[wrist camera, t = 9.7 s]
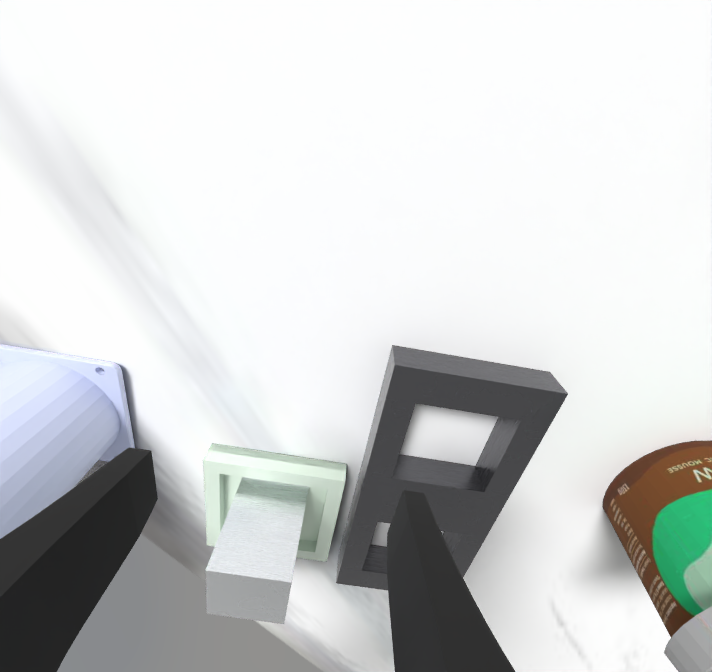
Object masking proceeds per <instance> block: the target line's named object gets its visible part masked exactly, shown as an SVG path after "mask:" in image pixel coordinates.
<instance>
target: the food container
mask: <svg viewBox="0 0 712 672" xmlns="http://www.w3.org/2000/svg"><path fill="white" fill-rule="evenodd" d="M603 509H604V510H605V512H606V514H607V516H608V518H609V520H610V522H611V524H612V526H613V528H614V530H615V531H616V533H617V535H618V537H619V539H620V541H621V543H622V545H623V547H624V549H625V551H626V552H627V554H628V556H629V558H630V560H631V562H632V564H633V566H634V568H635V570H636V572H637V573H638V575H639V577H640V579H641V581H642V583H643V585H644V587H645V589H646V591H647V593H648V594H649V596H650V598H651V600H652V602H653V604H654V606H655V608H656V610H657V612H658V613H659V615H660V617H661V619H662V621H663V623H664V625H665V627H666V629H667V631H668V633H669V634H670V636H671V639H670V640H669V642H668V644H667V645H666V648H665V651H664V653H665V655H666V656H667V657H668V659H669V660H670V661H671V663H672V664H673V665H674V666H675V668H676V669H677V670H678V672H712V441H691V442H683V443H679V444H675V445H671V446H667V447H664V448H662V449H659V450H656V451H654V452H652V453H649V454H647V455H645V456H643V457H642V458H640V459H638V460H636V461H635V462H633V463H632V464H630V465H629V466H628V467H626V468H625V469H624V470H623V471H622V472H621V473H620V474H618V475H617V476H616V478H615V479H614V480H613V481H612V483H611V484H610V485H609V487H608V489H607V491H606V493H605V496H604V499H603Z"/></svg>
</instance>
